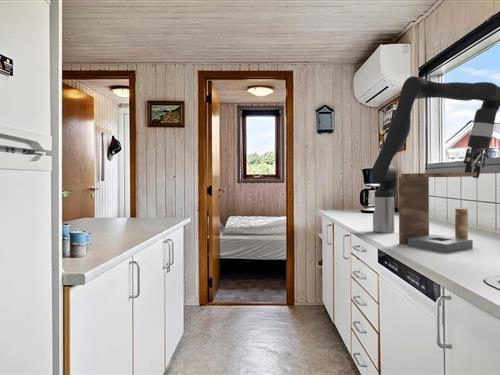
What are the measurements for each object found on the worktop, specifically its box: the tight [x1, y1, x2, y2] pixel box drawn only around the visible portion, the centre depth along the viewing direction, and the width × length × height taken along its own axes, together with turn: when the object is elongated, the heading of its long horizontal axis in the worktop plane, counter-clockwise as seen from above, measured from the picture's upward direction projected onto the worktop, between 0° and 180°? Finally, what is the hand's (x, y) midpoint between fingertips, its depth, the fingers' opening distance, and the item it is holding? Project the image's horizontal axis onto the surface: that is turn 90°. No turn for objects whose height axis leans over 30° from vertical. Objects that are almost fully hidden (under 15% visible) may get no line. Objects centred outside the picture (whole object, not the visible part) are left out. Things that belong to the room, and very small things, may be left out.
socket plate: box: [407, 234, 474, 253], centre depth 146 cm, size 16×16×3 cm
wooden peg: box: [454, 207, 469, 240], centre depth 152 cm, size 4×4×14 cm
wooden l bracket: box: [398, 171, 477, 245], centre depth 148 cm, size 22×16×28 cm
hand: (471, 176), depth 149 cm, fingers open, 8 cm apart
